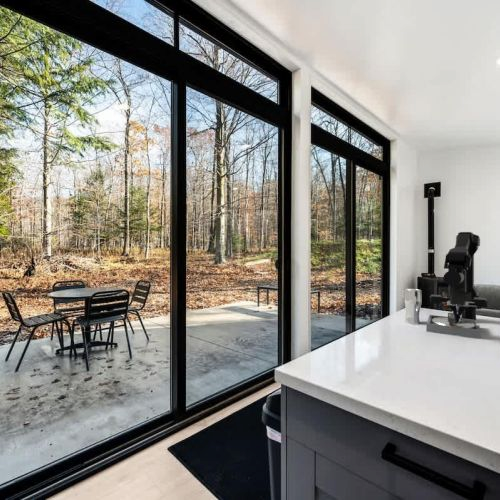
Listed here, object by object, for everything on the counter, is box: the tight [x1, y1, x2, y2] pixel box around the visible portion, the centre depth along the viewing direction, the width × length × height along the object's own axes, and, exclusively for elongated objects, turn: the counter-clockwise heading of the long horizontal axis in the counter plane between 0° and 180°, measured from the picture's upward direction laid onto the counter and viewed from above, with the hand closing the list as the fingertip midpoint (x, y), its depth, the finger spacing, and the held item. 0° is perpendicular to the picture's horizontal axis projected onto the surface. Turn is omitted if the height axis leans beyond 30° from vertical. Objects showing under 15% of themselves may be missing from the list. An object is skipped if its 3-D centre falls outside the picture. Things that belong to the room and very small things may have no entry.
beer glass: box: [403, 288, 423, 325], centre depth 145 cm, size 7×7×15 cm
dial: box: [432, 312, 475, 329], centre depth 132 cm, size 17×15×5 cm
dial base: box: [425, 314, 482, 340], centre depth 133 cm, size 18×18×4 cm
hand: (457, 322), depth 126 cm, fingers closed
